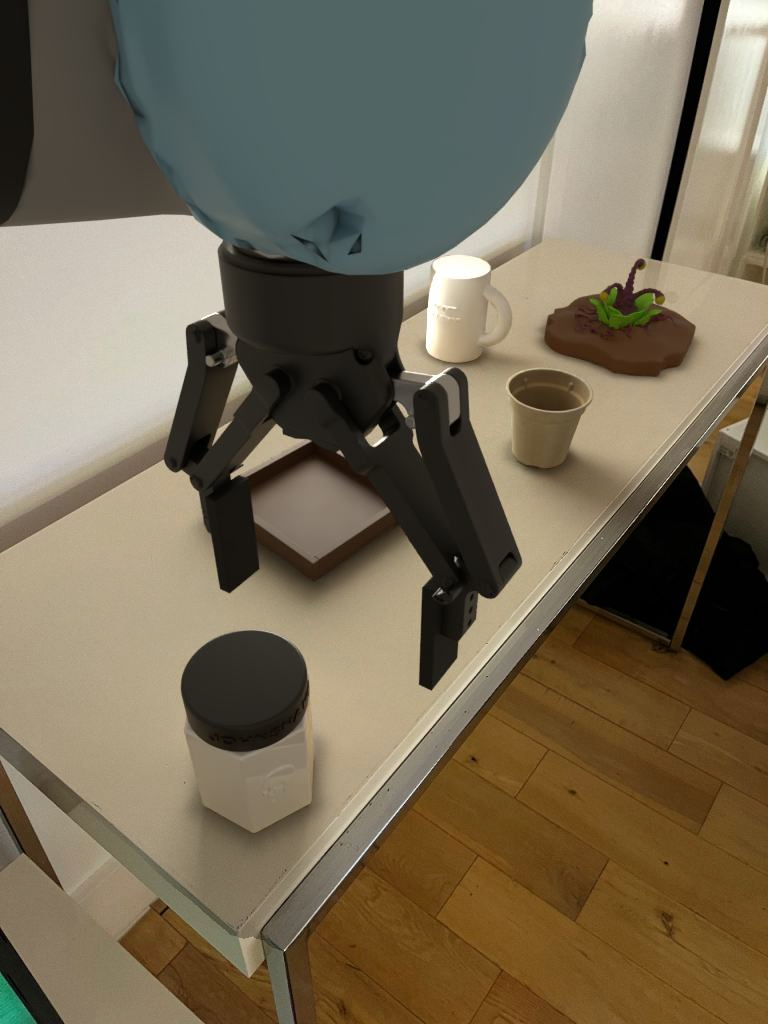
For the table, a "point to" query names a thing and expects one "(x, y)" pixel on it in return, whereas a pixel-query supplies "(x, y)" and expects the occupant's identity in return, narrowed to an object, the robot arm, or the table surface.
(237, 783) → the jar
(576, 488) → the table surface
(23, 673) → the table surface
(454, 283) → the mug
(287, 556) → the tray
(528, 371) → the flower pot
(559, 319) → the plant
